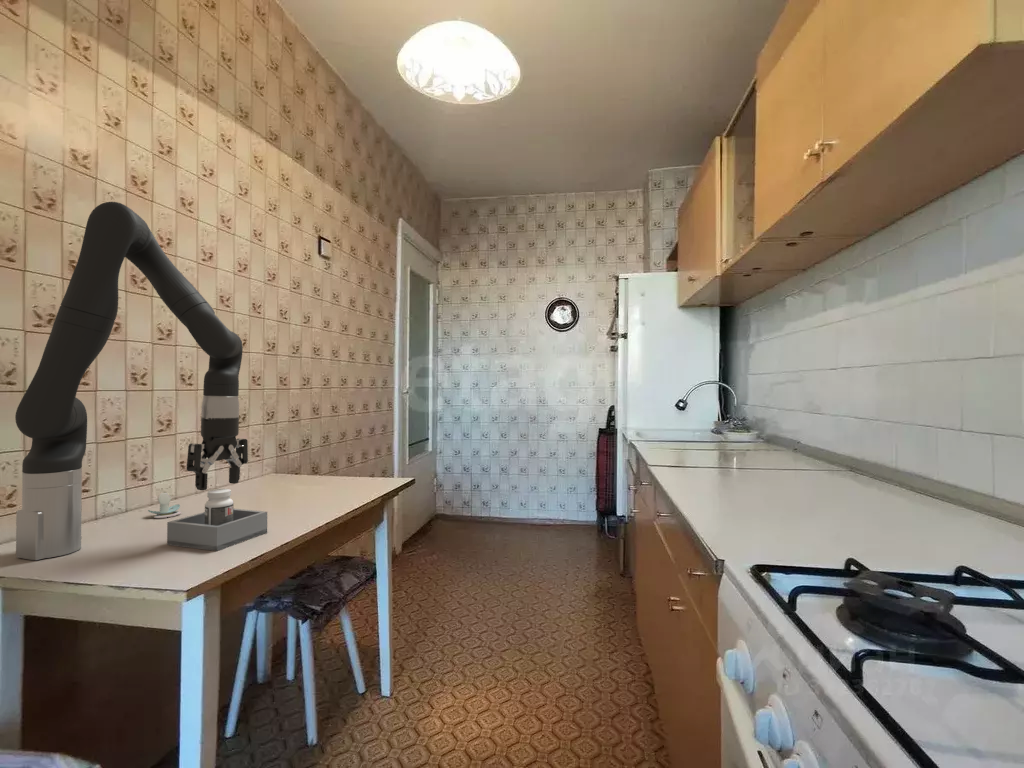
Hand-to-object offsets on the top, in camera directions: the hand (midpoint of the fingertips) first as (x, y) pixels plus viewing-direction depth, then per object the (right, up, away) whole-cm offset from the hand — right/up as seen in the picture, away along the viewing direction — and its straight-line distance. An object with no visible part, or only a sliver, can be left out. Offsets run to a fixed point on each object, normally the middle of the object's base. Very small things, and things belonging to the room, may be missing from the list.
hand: (218, 486), depth 115 cm
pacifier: (-26, -12, +20) cm, 35 cm away
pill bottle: (0, -11, 0) cm, 11 cm away
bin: (0, -12, 0) cm, 12 cm away
